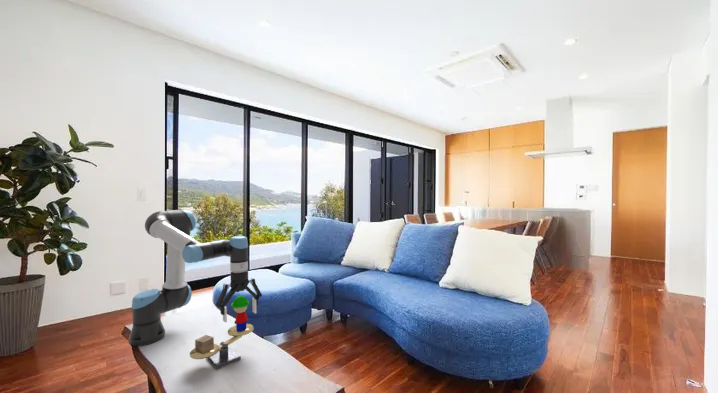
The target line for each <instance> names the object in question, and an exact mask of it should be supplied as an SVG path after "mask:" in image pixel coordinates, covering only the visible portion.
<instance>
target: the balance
mask: <svg viewBox="0 0 718 393" xmlns="http://www.w3.org/2000/svg"><path fill="white" fill-rule="evenodd" d="M246 326H247V329H245V330H242V331H236V324H235V325H233V326H231V327H229V328H228V330H227V335H229V336H230V338H229V339H227V340H225V341H221V342H220V344H219V345H218V344H216V343H214V349H213V350H211V351H209V352H207V353H205V354H201V353H198V352H195V348H193V349H192V350H191V351H190V352H189V357H190V358H191V359H192V360H193V359H194V360H205V359H206V360H208V361H209V362H210V363H211V364H212V365H213V366H214V368H215V369H216V370H219V369H220V368H223V367H225V366H228V365H231V364H233V363H237V362H239V361H241V355H240V354H239V353H238V352H237V351H235V349H234V348H232V347H231V346H229V345H231V344H233V343H234V342H236V341H237V340H240V339H241V338H242V337H243V336H247V335H248V334H251V333H252V332H253V331H254V328H255V327H254V325H253V324H251V323H246Z"/></svg>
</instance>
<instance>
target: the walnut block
mask: <svg viewBox="0 0 718 393" xmlns="http://www.w3.org/2000/svg"><path fill="white" fill-rule="evenodd" d="M214 337H215V336H211V335H207V334H205V335H203V336H201V337H198V338H196V339H195V340H194V347H195V352H198V353H201V354H205V353H207V352H209V351H211V350H213V349H214V344H215V342H214V341H215V340H214V339H215V338H214Z"/></svg>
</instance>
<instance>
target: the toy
mask: <svg viewBox="0 0 718 393" xmlns="http://www.w3.org/2000/svg"><path fill="white" fill-rule="evenodd" d="M249 305H250V301H249V300H248V298H247V297H246V296H244V295H239V296H237V297H235V298H234V300H233V302H232V303H231V304H230V307H231V308H233V310H234V312H235V313H237V314H236V316H235V320H234V324H235V325H236V331H242V330H245V329H247V326H246V324H248V322H249V319H248V315H247V313H246V310H247V309H248V306H249Z"/></svg>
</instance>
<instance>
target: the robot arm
mask: <svg viewBox="0 0 718 393" xmlns="http://www.w3.org/2000/svg"><path fill="white" fill-rule="evenodd" d="M196 225H197V222H196V217H195V215H194V213H193V212H191V210H188V209H175V210H174V209H172V210H161V211H160V210H159V211H156V212H153V213H151V214H150V215H148V217H147V218H146V220H145V223H144V229H145V231H146V233H147V234H148V235H149V236H151V237H153V238H155V239H160V240H161V241H163V242H164V243H166V244H167V251H166V252H167V254H166V273H165V274H166V275H165V282H164V283H163V284H162V285H161V287H162V288H161V290H160V289H158V288H152V289H146V290H144V291H141V292H138V293H137V294H136V295H135V296H133V297H132V301H131V311H132V312H131V313H132V314H131V315H132V328H131V331H130V334H129V337H128V344H129V345H130V346H133V347H135V346H136V347H138V346H139V345H141V346H145V345H144V344H146V345H150V344H153V343H157V342H158V341H160V340H162V339H163V338H164V337H165V336H166V329H165V327H164V325H163V322H162V320H161V319H162V318H161V316H162V315H161V314H165V313H167V312H171V311H174V310H177V309H181V308H182V307H185V306H186V305H188V304H189V302H190V301H191V300H192V296H193V294H192V292H193V291H192V288H191V286H190V285H189V284H188V282H187V281H186V280H185V274H186V264H193V263H195V264H196V263H199V262H203V261H207V260H210V259H211V260H212V259H216V258H221V257H229V258H230V259H229V260H230V261H229V262H230V272H229V273H230V274H229V275H230V283H223V285H222V290H221V292H220V294H219V296H218V299H217V301H216V303H215V306H216V307H217V308H220V315H221V316H222V321H223V322H224V323H227V322H228V318H227V317H228V313H227V312H228V308H227V304H228V303H229V301H230V300H231V298H233V296H234V295H235V294H236V293H239V292H244V291H246V292H248V293H249V294H250V295H251V296H252V300H251V302H252V304H251V306H252V313H254V314H255V315H256V314H257V312H258V311H257V306H258V305H259V299H260V298H262V297H263V294H262V293H261V291H260V289H259V286H258V285H257V282H256V279H255V278H253V277H250V278H249V249H248V248H249V243H248V237H247V236H243V235H236V236H231V237H230V239H224V238H219V239H218V238H217V239H214V240H213V241H209V242H200V241H199V240H196V239H195V238H193V237H191V232H192V231H194V230H195V228H196ZM249 283H250V285H251V286H252V288H253V290H254V291H253V290H252V289H251V288H250V287H249V286H248V285H249ZM229 288H230V289H229ZM228 290H229V291H228ZM227 292H228V293H227ZM149 343H150V344H149ZM139 347H140V346H139Z"/></svg>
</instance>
